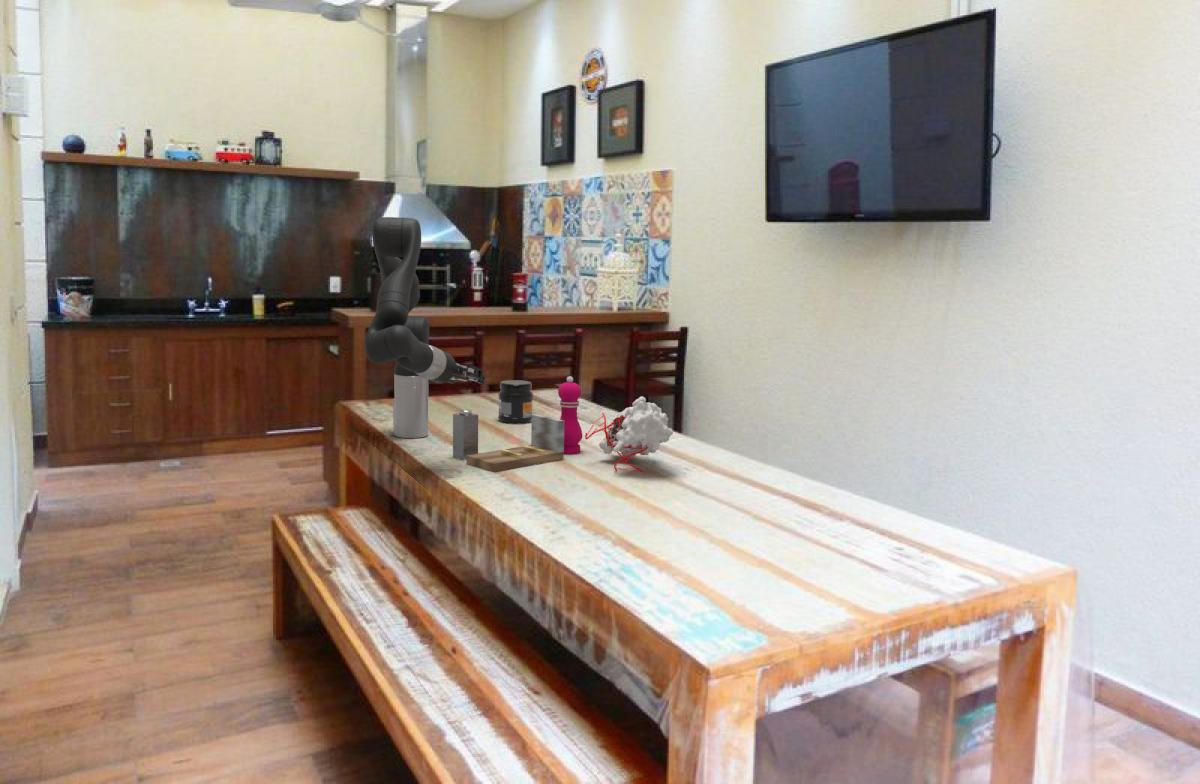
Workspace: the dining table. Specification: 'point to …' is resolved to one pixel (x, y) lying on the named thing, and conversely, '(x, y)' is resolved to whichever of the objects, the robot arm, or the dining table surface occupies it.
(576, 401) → the pepper mill
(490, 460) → the wooden base metal fixture
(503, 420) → the supplement container
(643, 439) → the lumpy white molecule
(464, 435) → the metal square bar
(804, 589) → the dining table surface
